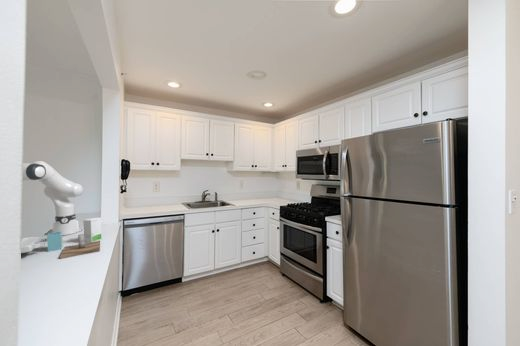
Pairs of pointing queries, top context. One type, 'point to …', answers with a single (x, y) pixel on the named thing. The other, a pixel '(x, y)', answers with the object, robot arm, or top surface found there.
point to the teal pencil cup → (54, 241)
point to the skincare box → (92, 230)
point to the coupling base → (80, 248)
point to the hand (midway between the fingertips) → (46, 241)
